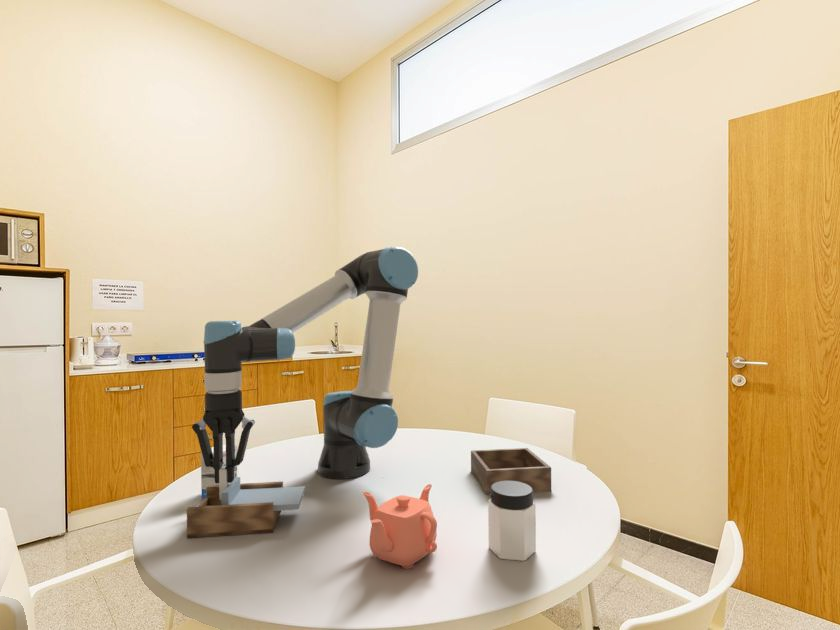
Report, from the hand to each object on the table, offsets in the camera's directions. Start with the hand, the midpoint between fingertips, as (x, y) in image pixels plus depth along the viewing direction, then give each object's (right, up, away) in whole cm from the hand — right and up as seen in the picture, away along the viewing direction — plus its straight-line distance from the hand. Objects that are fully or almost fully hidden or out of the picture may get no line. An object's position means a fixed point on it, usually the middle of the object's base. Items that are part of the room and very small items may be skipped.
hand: (224, 496), depth 100 cm
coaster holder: (+68, -5, +24) cm, 72 cm away
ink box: (-8, -6, +16) cm, 19 cm away
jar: (+61, -5, -12) cm, 63 cm away
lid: (+9, -2, +1) cm, 9 cm away
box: (+3, -6, 0) cm, 6 cm away
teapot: (+39, -6, -13) cm, 42 cm away
